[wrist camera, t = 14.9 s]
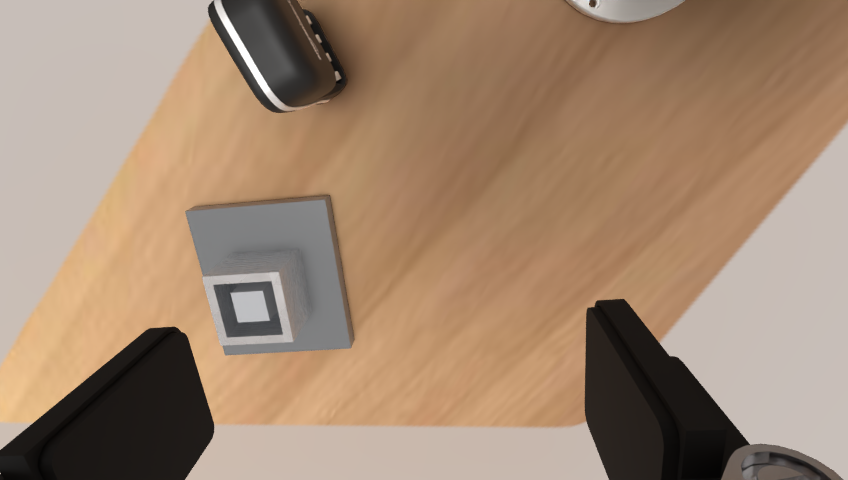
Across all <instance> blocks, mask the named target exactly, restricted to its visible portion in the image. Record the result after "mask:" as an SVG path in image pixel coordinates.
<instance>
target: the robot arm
mask: <svg viewBox="0 0 848 480" xmlns="http://www.w3.org/2000/svg"><path fill="white" fill-rule="evenodd" d="M566 1H567V2H568V4H570V5H571V6H573V7H574V8H575V9H577V10H578V11H579V12H581V13H582V14H584V15H587V16H589V17H591V18H593V19H596V20H599V21H604V22H609V23H633V22H638V21H643V20H647V19H650V18H653V17H656V16H659V15H662V14H663V13H665V12H667V11H669V10H671V9H673V8H675V7H677V6H679V5H680V4H681V3H683V2H684V1H685V0H593V1H594V2H595V5H594V7H590V6H589V1H590V0H566ZM585 415H586V420H587V424H588V427H589V430H590V432H591V435H592V437H593V440H594V442H595V444H596V447H597V450H598V453H599V455H600V458H601V460H602V463H603V465H604V468H605V470H606V473H607V475H608V478H609V480H843V479H842V478H841V477H840V476H839V475H838V474H837V473H836V472H834V471H833V470H832V469H830V468H829V467H827V466H825V465H824V464H822V463H821V462H819V461H817V460H816V459H813V458H811V457H809V456H806V455H805V454H802V453H800V452H798V451H795V450H792V449H788V448H785V447H780V446H776V445H767V444H754V445H750V444H749V443H748V441H747V440H746V439H745V438H744V437H743V435H742V434H741V433H740V432H739V430H738V429H737V428H736V427H735V426H734V424H733V423H732V422H731V421H730V420H729V418H728V417H727V416H726V415H725V413H724V412H723V411H722V410H721V409H720V407H719V406H718V405H717V404H716V402H715V401H714V400H713V399H712V397H711V396H710V395H709V394H708V393H707V391H706V390H705V389H704V388H703V386H701V384H700V383H699V382H698V380H697V379H696V378H695V377H694V375H693V374H692V373H691V372H690V371H689V369H688V368H687V367H686V366H685V364H684V363H683V362H682V361H681V360H680V359H679V358H677V357H673V356H669V355H668V354H667V352H666V351H665V350H664V349H663V347H662V346H661V345H660V343H659V342H658V341H657V340H656V338H655V337H654V336H653V335H652V333H651V332H650V331H649V329H648V328H647V327H646V326H645V324H644V323H643V322H642V321H641V319H640V318H639V317H638V316H637V314H636V313H635V312H634V310H633V309H632V308H631V307H630V305H629V304H628V303H627V302H626V301H625V300H624V299H616V300H599V301H596V303H595V307H591V308H588V309H587V314H586V368H585ZM213 434H214V422H213V419H212V416H211V412H210V409H209V406H208V403H207V399H206V396H205V393H204V389H203V386H202V383H201V380H200V376H199V373H198V370H197V366H196V363H195V360H194V357H193V353H192V350H191V347H190V344H189V340H188V338H187V335H186V334H185V333H183V332H181V331H180V330H179V329H178V328H176V327H163V328H150V329H148V330H146V331H145V332H144V333H142V334H141V335H140V336H139V337H138V338H136V339H135V340H134V341H133V342H131V343H130V344H129V345H128V346H127V347H125V348H124V349H123V350H122V351H121V352H119V353H118V354H117V355H116V356H114V357H113V358H112V359H111V360H110V361H108V362H107V363H106V364H105V365H103V366H102V367H101V368H100V369H99V370H97V371H96V372H95V373H94V374H92V375H91V376H90V377H89V378H88V379H86V380H85V381H84V382H83V383H82V384H80V385H79V386H78V387H77V388H75V389H74V390H73V391H72V392H71V393H69V394H68V395H67V396H66V397H64V398H63V399H62V400H61V401H60V402H58V403H57V404H56V405H55V406H53V407H52V408H51V409H50V410H49V411H47V412H46V413H45V414H44V415H42V416H41V417H40V418H39V419H38V420H36V421H35V422H34V423H33V424H32V425H30V426H29V427H28V428H27V429H25V430H24V431H23V432H22V433H21V434H19V435H18V436H17V437H16V438H15V439H13V440H12V441H11V442H10V443H8V444H7V445H6V446H5V447H3V448H2V449H1V450H0V473H1V474H0V480H185V479H186V477H187V476H188V474H189V473H190V471H191V470H192V468H193V467H194V465H195V464H196V462H197V461H198V459H199V458H200V456H201V455H202V453H203V452H204V450H205V449H206V447H207V446H208V444H209V443H210V441H211V439H212V437H213Z"/></svg>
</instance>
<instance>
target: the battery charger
mask: <svg viewBox="0 0 848 480" xmlns="http://www.w3.org/2000/svg"><path fill="white" fill-rule="evenodd" d="M208 13H209V17H210V19H211V22H212V24H213V26H214V28H215V30H216V31H217V33H218V35H219V37H220V38H221V40H222V42H223V43H224V45H225V47H226V49H227V50H228V52H229V54H230V55H231V57H232V59H233V61H234V62H235V64H236V66H237V67H238V69H239V70H240V72H241V74H242V75H243V77H244V79H245V80H246V82H247V84H248V85H249V87H250V89H251V90H252V92H253V93H254V95H255V96H256V98H257V99H258V100H259V101H260V103H261V104H262V105H263V106H264V107H266V108H267V109H268V110H270V111H272V112H276V113H285V112H292V111H296V110H300V109H304V108H307V107H310V106H312V105H315V104H322V103H326V102H328V101H330V99H331V98H333V97H335V96H336V95H338V94H339V93H340V92H341V91H342V90H343V88H344V87H345V85H346V75H345V73H344V70H343V68H342V66H341V65H340V63H339V61H338V59H337V57H336V55H335V53H334V51H333V49H332V47H331V46H330V44H329V42H328V40H327V38H326V36H325V34H324V32H323V31H322V29H321V27H320V25H319V23H318V21H317V20H316V18H315V17H314V15H313V14H312V13H311V12H309V11H307V10H304V9H301V7H300V5H299V3H298V1H297V0H214V1H212V3H211V4H210V5H209V7H208Z"/></svg>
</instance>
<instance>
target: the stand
mask: <svg viewBox="0 0 848 480" xmlns="http://www.w3.org/2000/svg"><path fill="white" fill-rule="evenodd" d="M185 213H186V216H187V220H188V224H189V227H190V231H191V234H192V238H193V242H194V245H195V249H196V252H197V256H198V260H199V263H200V267H201V270H202V274H203V276H204V275H205V274H206V273H207V272H209V271H210V270H211V269H212V268H214V267H215V266H216V265H218V264H219V263H220V262H221V261H223V260H224V259H225V258H226V257H228V256H229V255H230V254H231V253H242V252H257V251H272V250H287V249H300V253H301V258H302V263H303V268H304V273H305V279H306V284H307V289H308V294H309V300H310V305H311V310H312V312H311V314H310V316H309V317H308V319H307V320H306V322H305V324H304V325H303V327H302V329H301V330H300V332H299V334H298V335H297V337H296V339H295V340H294V342H284V343H264V344H244V345H224V346H223V349H224V353H225V355H240V354H258V353H276V352H294V351H312V350H330V349H348V348H351V347H352V344H353V341H354V335H353V329H352V324H351V318H350V312H349V306H348V300H347V294H346V288H345V283H344V277H343V271H342V265H341V259H340V253H339V247H338V241H337V236H336V230H335V224H334V218H333V212H332V206H331V200H330V195H326V196H314V197H302V198H291V199H279V200H267V201H256V202H244V203H232V204H221V205H209V206H197V207H193V208H191V209H189V210H187V211H185ZM231 297H232V301H233V305H234V309H235V312H236V316H237V320H238V323H240V322H256V321H270V320H271V318H272V317H273V316H274V314H275V313H276V312H277V310H278V309H277V304H276V299H275V295H274V290H273V286H272V281H265V282H249V283H240V284H239V285H238V286H237V287H236V288H235V289H234V290H233V291H232V292H231Z"/></svg>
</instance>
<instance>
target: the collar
mask: <svg viewBox="0 0 848 480" xmlns="http://www.w3.org/2000/svg"><path fill="white" fill-rule="evenodd" d="M202 279H203V283H204V286H205V290H206V294H207V298H208V301H209V305H210V309H211V312H212V316H213V320H214V323H215V327H216V331H217V334H218V338H219V342H220V345H221V346H224V345H244V344H264V343H284V342H294V340H295V339H296V337H297V335H298V334H299V332H300V330H301V329H302V327H303V325H304V324H305V322H306V320H307V319H308V317H309V316H310V314H311V312H312V310H311V305H310V300H309V294H308V289H307V284H306V279H305V273H304V268H303V263H302V258H301V253H300V249H287V250H272V251H257V252H242V253H231V254H230V255H229V256H228V257H226V258H225V259H224V260H223V261H221V262H220V263H219V264H218V265H216V266H215V267H214V268H212V269H211V270H210V271H209V272H207V273H206V274H205V275H204V276H202ZM265 281H272V286H273V290H274V295H275V299H276V304H277V309H278V310H277V312H276V313H275V314H274V316H273V317H272V318H271V320H270V321H256V322H240V323H238V320H237V316H236V312H235V309H234V305H233V301H232V297H231V292H232V291H233V290H234V289H235V288H236V287H237V286H238V285H239V284H240V283H249V282H265Z"/></svg>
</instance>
